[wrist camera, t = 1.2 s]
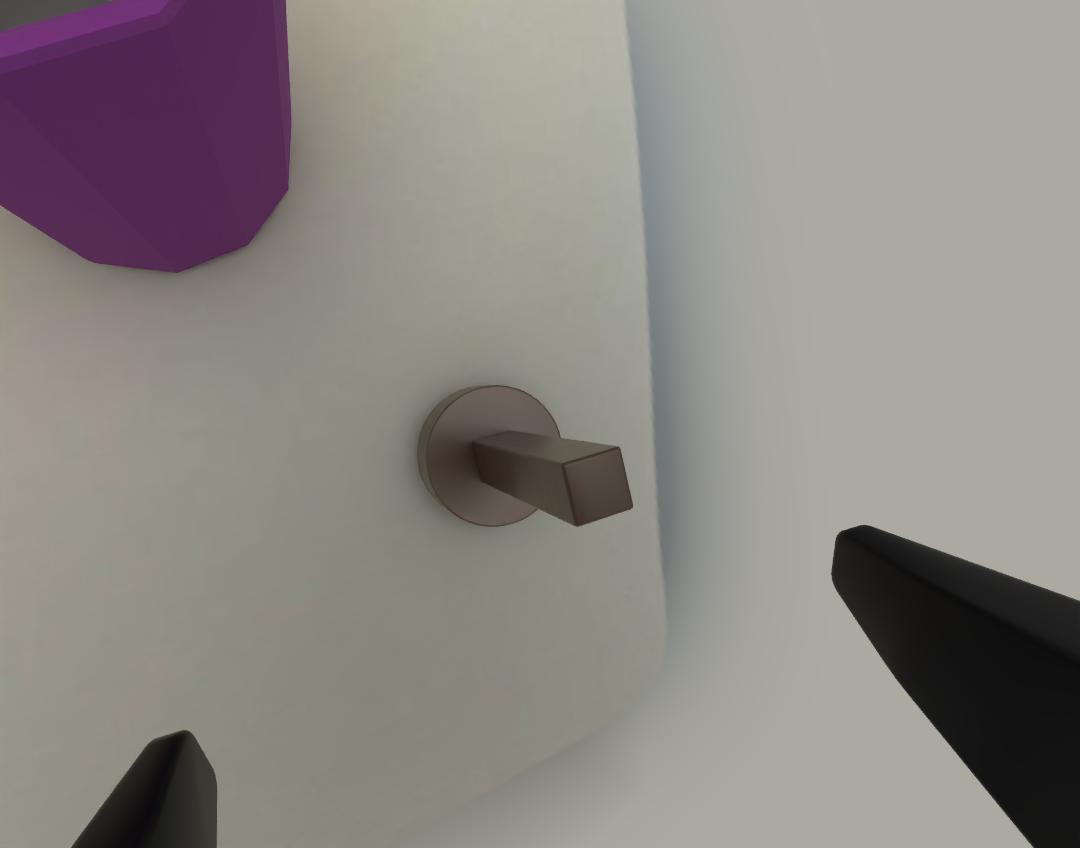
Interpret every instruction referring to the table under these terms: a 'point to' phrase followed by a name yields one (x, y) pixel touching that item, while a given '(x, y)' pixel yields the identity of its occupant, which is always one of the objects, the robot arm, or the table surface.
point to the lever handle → (515, 462)
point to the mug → (144, 124)
